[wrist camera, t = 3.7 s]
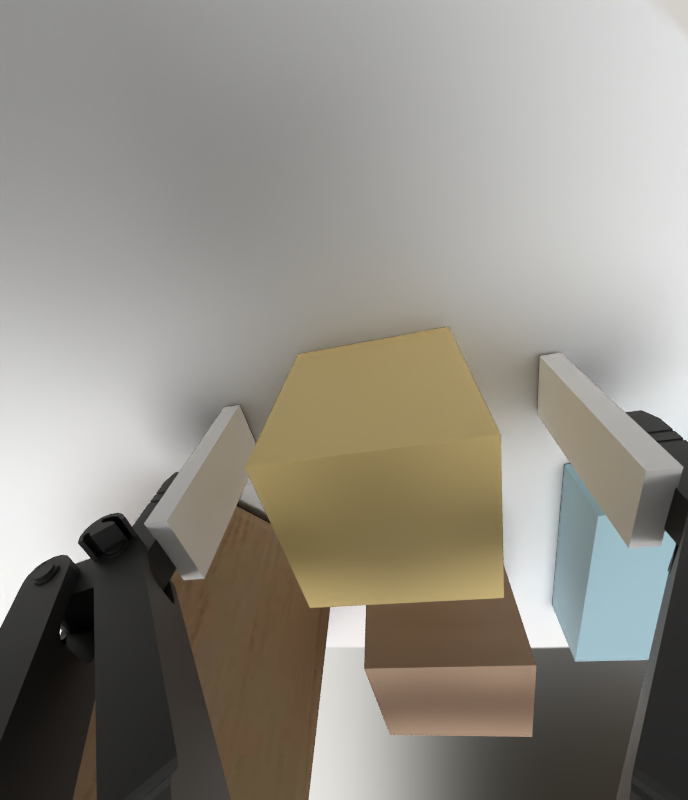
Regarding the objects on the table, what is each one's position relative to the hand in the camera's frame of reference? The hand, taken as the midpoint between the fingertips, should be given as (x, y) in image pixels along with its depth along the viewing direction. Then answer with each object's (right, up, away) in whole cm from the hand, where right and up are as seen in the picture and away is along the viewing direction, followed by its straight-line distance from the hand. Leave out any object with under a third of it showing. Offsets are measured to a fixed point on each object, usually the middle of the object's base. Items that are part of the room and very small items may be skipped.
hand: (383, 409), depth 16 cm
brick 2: (+3, -8, +5) cm, 10 cm away
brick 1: (0, 0, 0) cm, 0 cm away
